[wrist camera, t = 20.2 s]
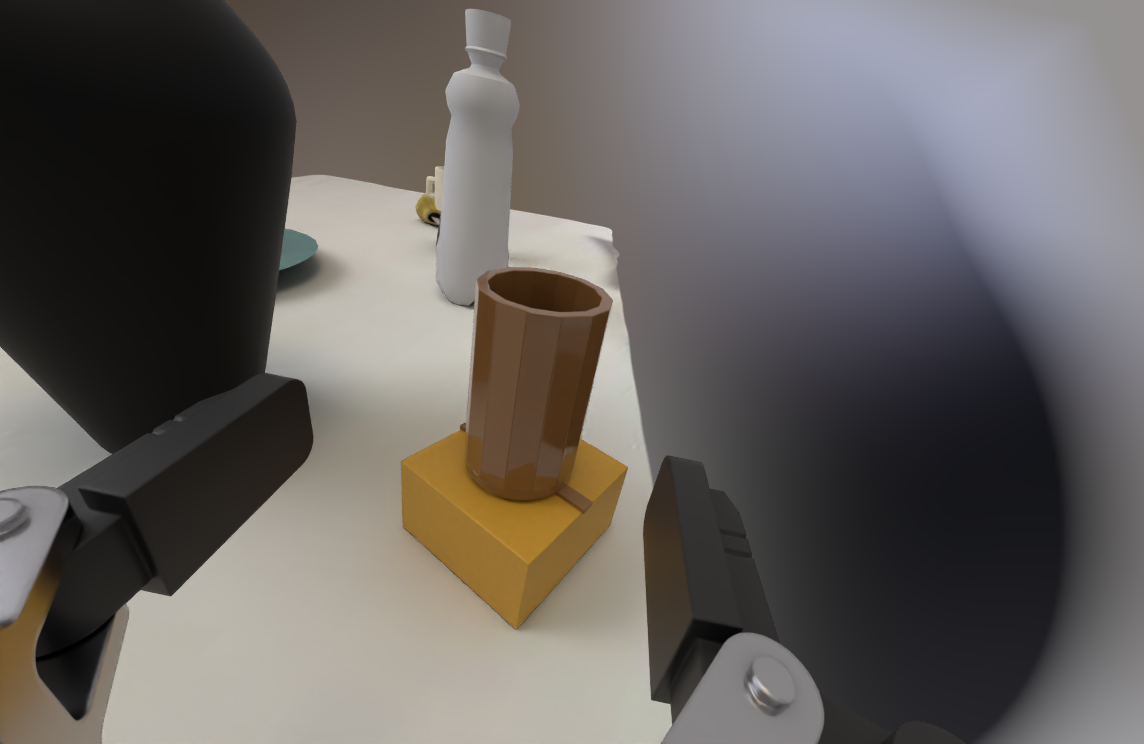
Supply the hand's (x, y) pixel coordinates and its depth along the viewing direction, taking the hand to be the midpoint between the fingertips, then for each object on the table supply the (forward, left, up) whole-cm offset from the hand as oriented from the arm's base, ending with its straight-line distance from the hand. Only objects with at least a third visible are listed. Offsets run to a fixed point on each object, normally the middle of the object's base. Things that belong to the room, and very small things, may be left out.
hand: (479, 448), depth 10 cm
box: (+6, -9, -15) cm, 19 cm away
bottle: (+36, -33, -15) cm, 51 cm away
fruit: (+70, -54, -15) cm, 90 cm away
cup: (+6, -9, -10) cm, 15 cm away
